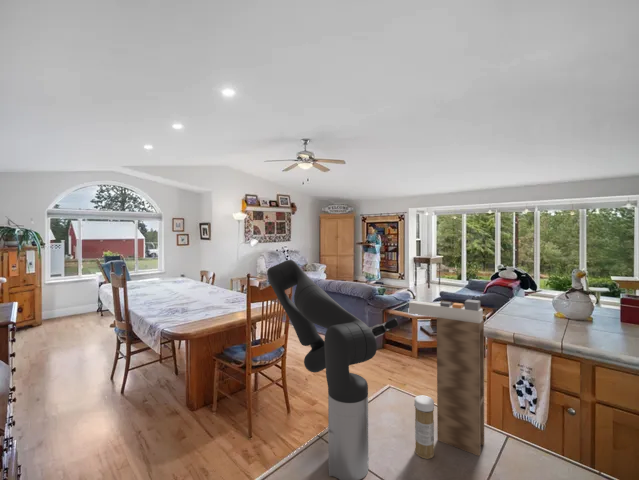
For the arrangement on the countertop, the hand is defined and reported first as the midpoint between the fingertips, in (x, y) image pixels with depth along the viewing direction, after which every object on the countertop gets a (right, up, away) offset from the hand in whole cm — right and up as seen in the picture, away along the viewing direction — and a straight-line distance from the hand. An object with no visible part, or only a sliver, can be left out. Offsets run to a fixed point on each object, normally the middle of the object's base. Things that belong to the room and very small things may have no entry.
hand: (391, 324), depth 93 cm
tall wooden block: (+15, -27, -12) cm, 33 cm away
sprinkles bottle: (+4, -28, -16) cm, 32 cm away
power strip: (+12, +5, -9) cm, 16 cm away
